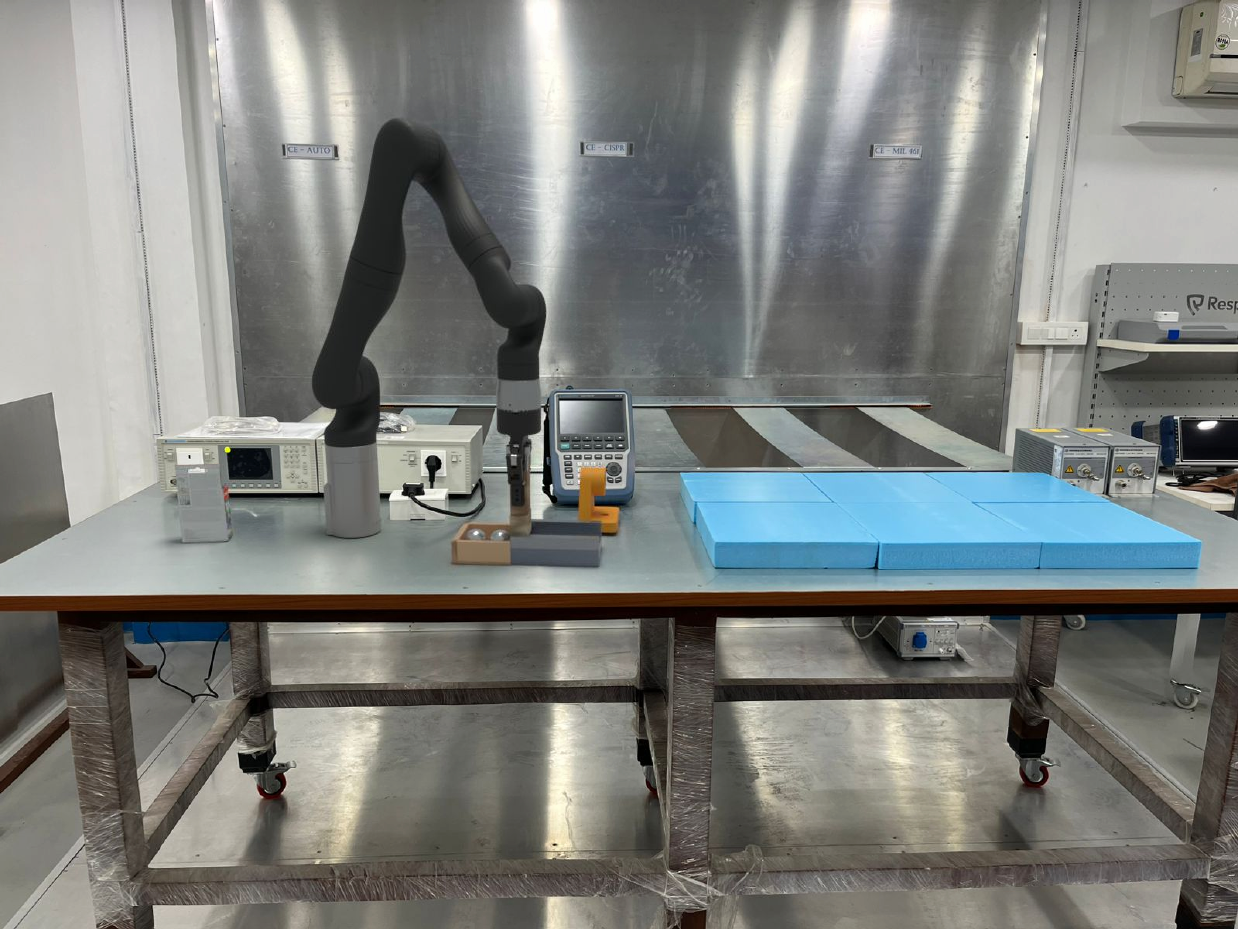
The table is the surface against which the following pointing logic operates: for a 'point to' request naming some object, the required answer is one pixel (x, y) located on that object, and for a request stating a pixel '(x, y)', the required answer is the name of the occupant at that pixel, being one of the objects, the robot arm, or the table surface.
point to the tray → (481, 546)
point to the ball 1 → (475, 535)
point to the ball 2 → (500, 536)
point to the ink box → (203, 504)
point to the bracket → (590, 486)
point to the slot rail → (558, 543)
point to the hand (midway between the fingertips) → (519, 502)
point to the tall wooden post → (521, 510)
